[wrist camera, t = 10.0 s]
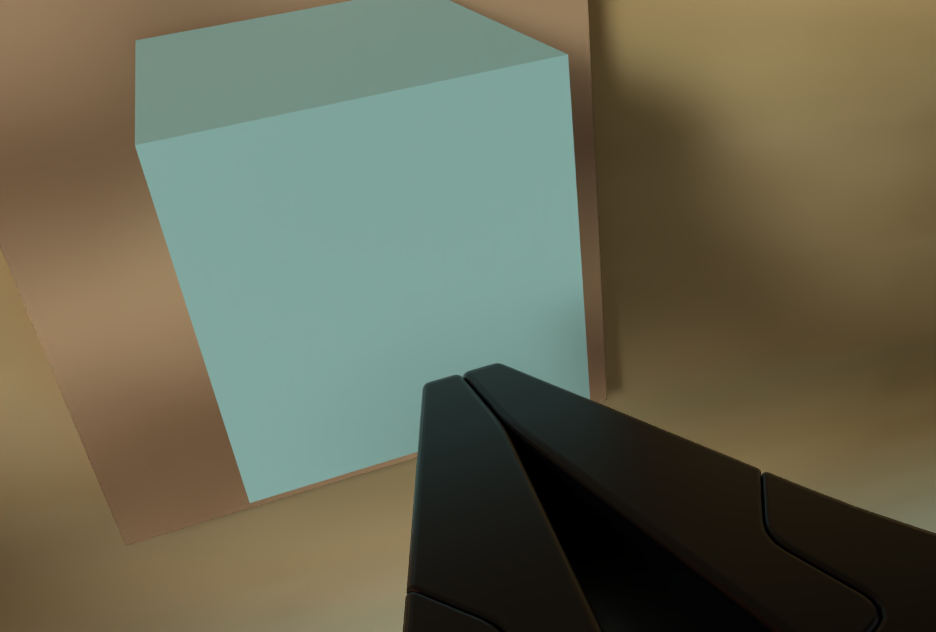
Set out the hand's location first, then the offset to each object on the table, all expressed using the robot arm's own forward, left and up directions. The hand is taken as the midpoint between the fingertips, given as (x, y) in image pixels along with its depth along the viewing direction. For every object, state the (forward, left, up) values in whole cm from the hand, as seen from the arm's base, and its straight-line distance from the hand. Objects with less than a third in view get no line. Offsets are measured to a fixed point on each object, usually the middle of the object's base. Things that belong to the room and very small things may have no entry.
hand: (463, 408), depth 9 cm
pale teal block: (0, 0, -9) cm, 9 cm away
